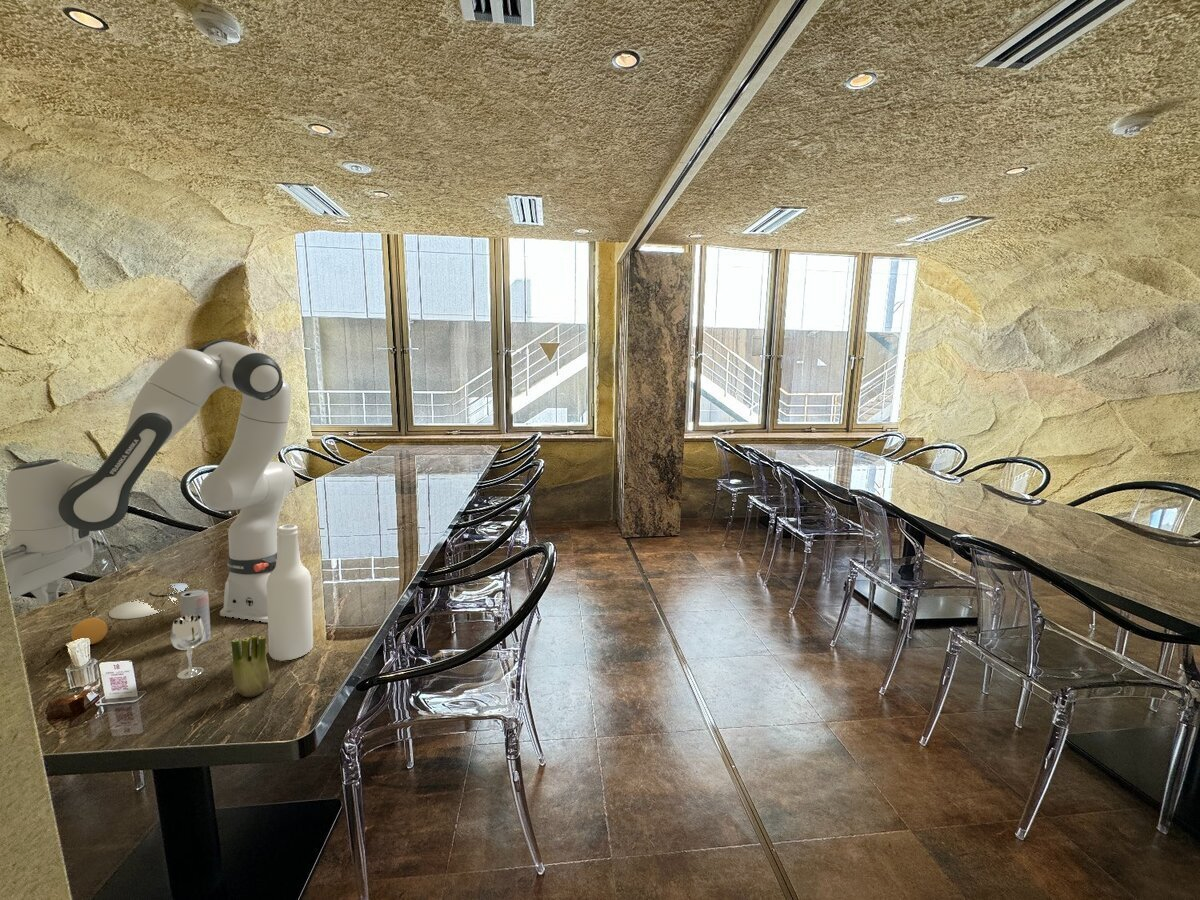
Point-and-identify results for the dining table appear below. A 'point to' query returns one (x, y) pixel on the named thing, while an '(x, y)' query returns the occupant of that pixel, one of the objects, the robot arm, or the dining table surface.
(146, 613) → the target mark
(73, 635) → the ball
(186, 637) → the wineglass
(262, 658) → the fennel bulb
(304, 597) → the white bottle
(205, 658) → the dining table surface
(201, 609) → the energy drink
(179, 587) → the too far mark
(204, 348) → the robot arm
